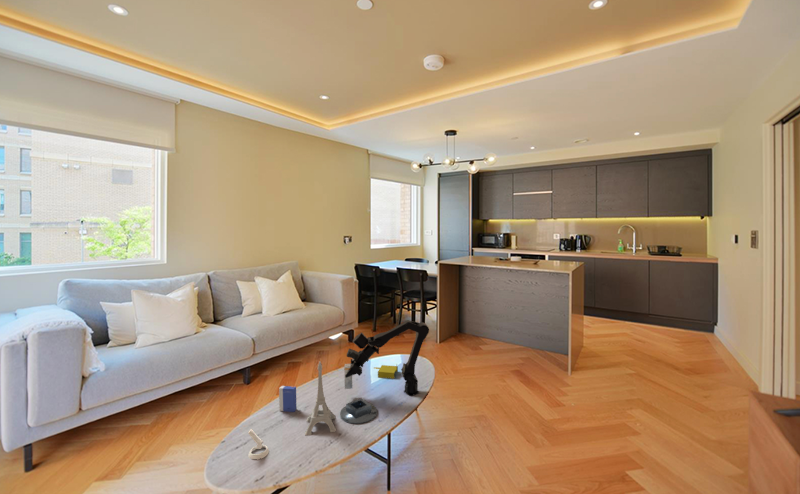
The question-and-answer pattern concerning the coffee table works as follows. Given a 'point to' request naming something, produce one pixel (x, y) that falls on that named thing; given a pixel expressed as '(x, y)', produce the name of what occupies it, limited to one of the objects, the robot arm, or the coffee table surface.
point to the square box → (349, 379)
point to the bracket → (387, 371)
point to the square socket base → (358, 412)
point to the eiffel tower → (320, 413)
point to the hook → (259, 446)
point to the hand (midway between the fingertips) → (345, 375)
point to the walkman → (287, 398)
